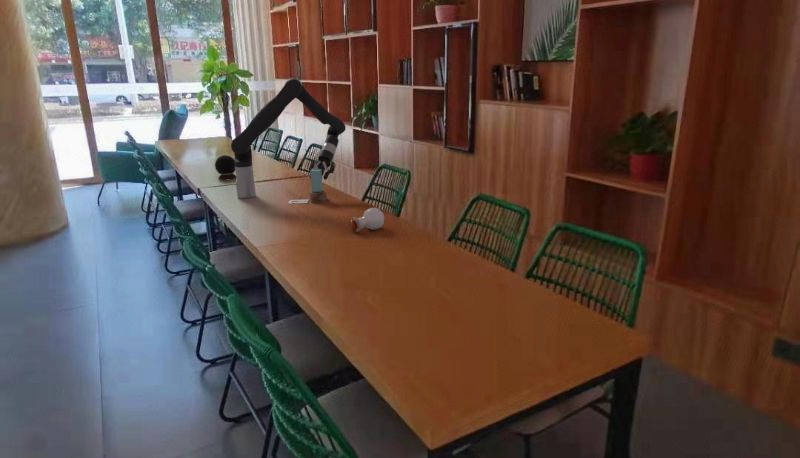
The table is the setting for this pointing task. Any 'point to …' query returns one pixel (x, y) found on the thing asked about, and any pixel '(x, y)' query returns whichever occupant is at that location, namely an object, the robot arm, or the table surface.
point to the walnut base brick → (317, 196)
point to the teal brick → (316, 180)
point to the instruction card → (298, 201)
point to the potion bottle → (368, 220)
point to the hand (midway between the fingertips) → (317, 178)
